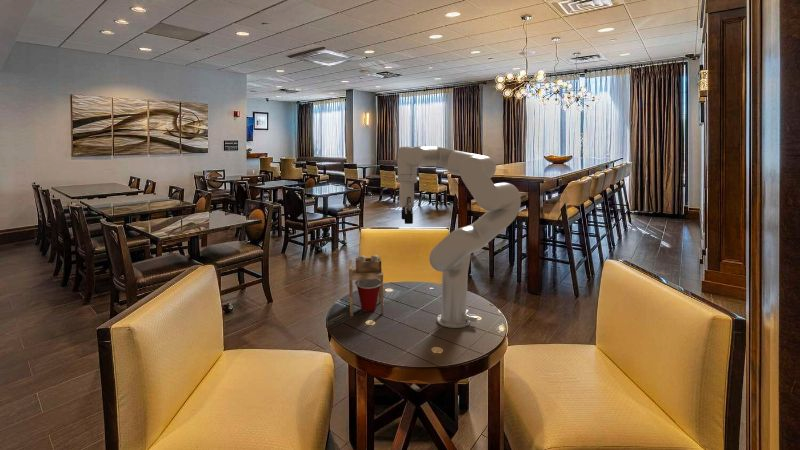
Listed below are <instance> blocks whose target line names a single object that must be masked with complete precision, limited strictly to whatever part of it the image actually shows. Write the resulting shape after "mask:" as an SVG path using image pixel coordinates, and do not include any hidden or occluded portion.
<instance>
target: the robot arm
mask: <svg viewBox="0 0 800 450" xmlns="http://www.w3.org/2000/svg"><path fill="white" fill-rule="evenodd" d="M421 167H439V168H444V169H446V170H447V171H448V173H449V174H451V175H453V176H454V175H455V176H459V177H460V178H461V180H462V182H463V184H464V185H465V187H466V189H468V191H469V193H470V194H471V196H472V197H473V199H474V200H475V202H476V204H478V206H479V207H480V208H482V209H483V210H485V211H486V212H485V213H484V214H482V215H481V216H480V217H479V218H477V219H476V220H475V221H474V222H471V224H469V225H465V226H462V227H459V228H456V229H455V230H453V231H451V232H450V233H449V234H447V236H445V237H444V238H443V239H442V240H440V241H439V242H438V243H437V244H436V245H435V246H434V247H433V248H432V250H431V251H430V253H429V258H428V259H429V263H430V264H429V265H430V266H431V268H433V270H435V271H437V272H441V273H442V274H441V275H442V276H441V300H440V301H441V302H440V303H441V305H440V306H441V311H440V312H441V313H440V314H438V315H437V317H436V322H437V323H438V325H440V326H442V327H444V328H445V327H446V328H449V329H463V328H465V327H467V326H469V325H470V323H471V322H475V323H478V319H479V318H478V316H476V314H473V313H472V314H471V313H470V312H469V309H468V308H467V304H468V300H467V299H468V281H469V280H468V279H469V278H468V276H469V275H468V274H469V268H470V264H471V256H472V255H471V254H473V253H475V252H478V251H480V250H482V249H483V248H484V247H485V246H486V245H487V244H489V242H491V241H492V240H493V239H495V238H496V237H497V236H498V235H499V234H500V233H502V232H503V231H504V230H505V229H506V228H508V227H509V226H510V225H511V224H512V223H513V222H514V221H515V219H516V218H517V216H518V214H519V212H520V209H521V201H522V200H521V194H520V191H519V189H518V188H517V187H516V186H515V185H514V184H512V183H509V182H498V183H494V182H493V180H492V177H493V176H494V175H495V173H496V170H497V165H496V162H495V161H494V159H493V158H492V157H490V156H487V155H483V154H482V155H481V154H477V153H470V152H465V151H461V150H460V151H459V150H456V149H451V148H448V147H447V148H446V147H442V146H441V147H439V146H436V145H435V146H434V145H433V146H432V145H429V146H428V145H425V146H420V145H419V146H400V147H398V149H397V183H398V184H399V190H398V191H399V193H398V194H399V196H398V198H399V199H398V200H399V201H398V205H399V207H400V208H401V220H404V224H405V225H410V224H411V225H412V224H413V223H414V213H413V208H414V206H415V184H416V183H417V182H418V174H417V173H418V168H421Z"/></svg>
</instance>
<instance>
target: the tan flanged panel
mask: <svg viewBox="0 0 800 450" xmlns="http://www.w3.org/2000/svg"><path fill="white" fill-rule="evenodd" d="M361 279H380V280H381V285H380V288H379V293H378V304H380V315H381V316H383V315H384V273H383V270H382V268H381V272H379V273H356V265H354V266H353V260H352V259H348V280H349V281H348V283H349V284H348V285H349V287H348V288H349V290H348V291H349V317H354V302H353V301H354V295H353V293H354V292H353V288H354V287H353V281H356V280H361Z"/></svg>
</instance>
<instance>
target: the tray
mask: <svg viewBox="0 0 800 450" xmlns="http://www.w3.org/2000/svg"><path fill="white" fill-rule="evenodd" d="M355 266H356V273H379V272H381V269H382V260H381V257H379V255H377V254H373V255H371V256H370V257H366V255H358V257H356V258H355Z"/></svg>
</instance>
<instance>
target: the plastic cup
mask: <svg viewBox="0 0 800 450" xmlns="http://www.w3.org/2000/svg"><path fill="white" fill-rule="evenodd" d="M354 284H355V285H356V288H357V291H358V298H359V302H360V307H361V310H362V311H363V312H373V311H375V310H376V309H377V305H378V304H377V303H378V300H379V288H380V285H381V280H380V279H361V280H355V283H354Z"/></svg>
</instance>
